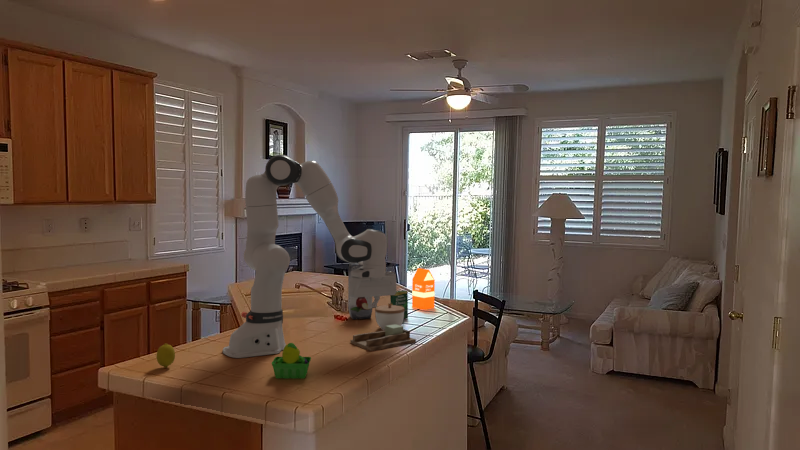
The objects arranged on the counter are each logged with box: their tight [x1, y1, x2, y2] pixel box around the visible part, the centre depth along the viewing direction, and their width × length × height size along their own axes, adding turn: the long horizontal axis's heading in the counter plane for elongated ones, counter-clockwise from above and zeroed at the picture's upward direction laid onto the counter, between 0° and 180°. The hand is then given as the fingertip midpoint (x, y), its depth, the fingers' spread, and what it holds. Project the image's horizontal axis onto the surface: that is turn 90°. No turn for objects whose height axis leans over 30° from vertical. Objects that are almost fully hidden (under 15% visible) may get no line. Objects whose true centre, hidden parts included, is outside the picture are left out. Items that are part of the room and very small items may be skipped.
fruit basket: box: [271, 342, 312, 380], centre depth 169 cm, size 11×9×11 cm
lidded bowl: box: [374, 302, 405, 331], centre depth 233 cm, size 13×13×11 cm
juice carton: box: [347, 261, 373, 320], centre depth 254 cm, size 9×10×27 cm
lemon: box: [156, 342, 176, 369], centre depth 177 cm, size 6×6×8 cm
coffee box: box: [389, 289, 409, 320], centre depth 252 cm, size 8×3×13 cm, turn 118°
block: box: [384, 324, 404, 336], centre depth 213 cm, size 5×5×4 cm
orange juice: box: [411, 267, 436, 310], centre depth 280 cm, size 8×9×20 cm
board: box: [350, 328, 417, 352], centre depth 210 cm, size 21×14×4 cm, turn 127°
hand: (372, 307), depth 208 cm, fingers closed
